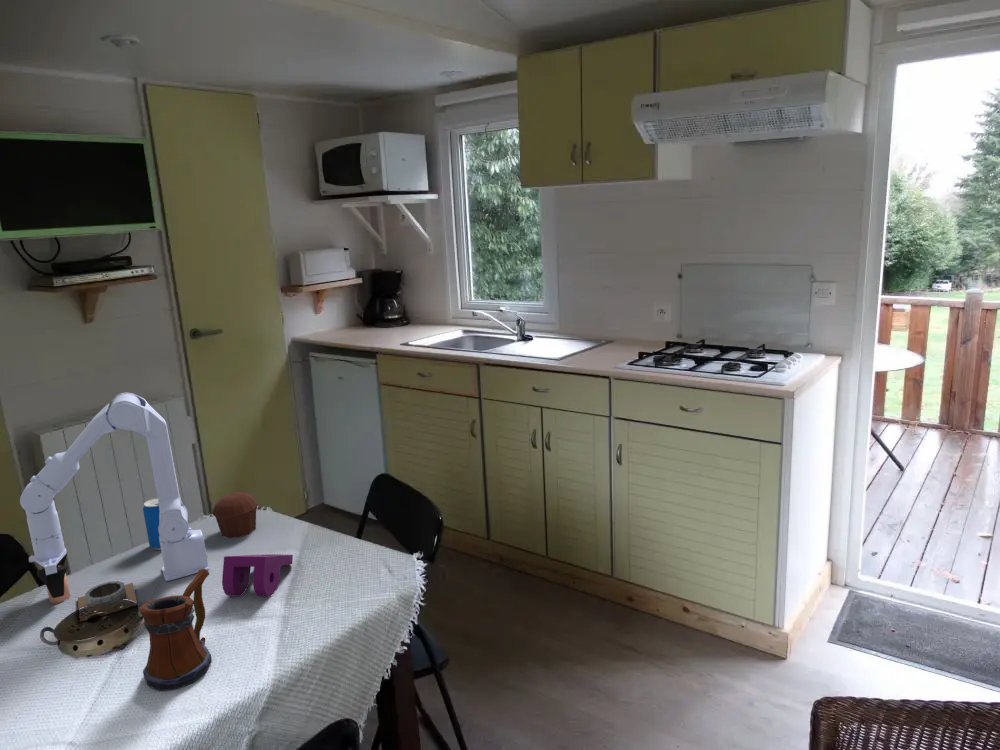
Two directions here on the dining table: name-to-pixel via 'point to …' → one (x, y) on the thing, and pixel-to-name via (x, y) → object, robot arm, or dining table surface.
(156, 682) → the mug
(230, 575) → the mounting bracket
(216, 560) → the dining table surface
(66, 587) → the rail post
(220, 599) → the dining table surface
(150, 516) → the beverage can
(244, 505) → the muffin
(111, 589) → the cup bracket
